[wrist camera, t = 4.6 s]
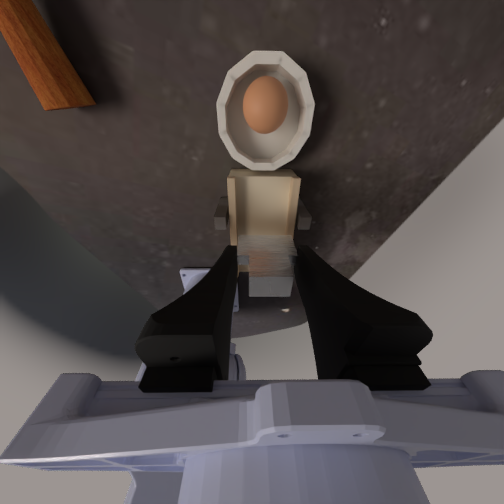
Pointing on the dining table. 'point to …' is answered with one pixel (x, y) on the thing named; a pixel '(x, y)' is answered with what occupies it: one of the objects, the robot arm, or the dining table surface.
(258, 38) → the dining table surface
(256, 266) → the gate
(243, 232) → the wooden box
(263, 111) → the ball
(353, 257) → the dining table surface
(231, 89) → the white round shallow bowl
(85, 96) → the kendama
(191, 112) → the dining table surface
